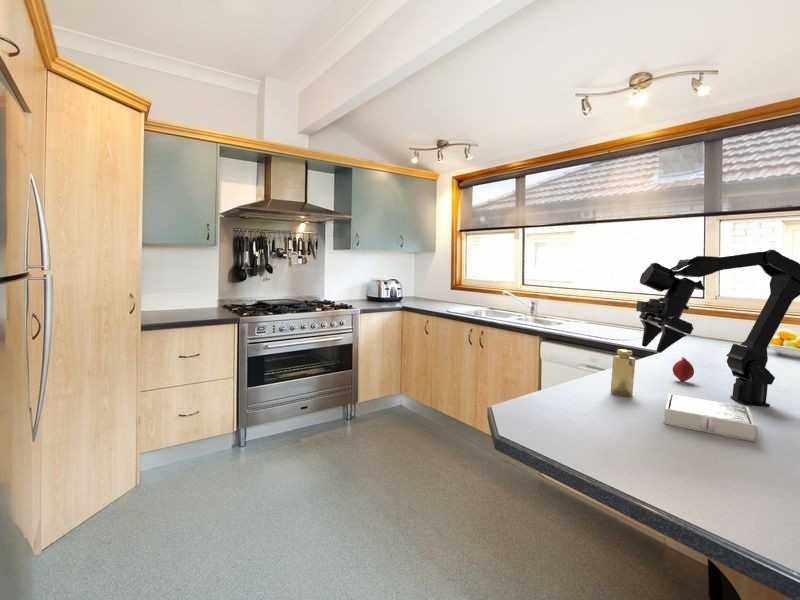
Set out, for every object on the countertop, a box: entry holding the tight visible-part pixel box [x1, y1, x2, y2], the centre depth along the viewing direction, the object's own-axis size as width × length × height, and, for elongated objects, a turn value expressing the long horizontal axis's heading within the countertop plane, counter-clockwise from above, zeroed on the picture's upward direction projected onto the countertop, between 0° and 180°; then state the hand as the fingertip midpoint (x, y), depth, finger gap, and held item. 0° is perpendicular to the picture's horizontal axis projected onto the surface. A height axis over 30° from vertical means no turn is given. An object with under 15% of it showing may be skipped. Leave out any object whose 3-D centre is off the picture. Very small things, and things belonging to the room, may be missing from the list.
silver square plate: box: [670, 394, 749, 424], centre depth 100 cm, size 14×14×1 cm
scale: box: [663, 393, 756, 442], centre depth 100 cm, size 16×16×4 cm
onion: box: [672, 356, 695, 383], centre depth 139 cm, size 6×6×8 cm
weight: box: [610, 348, 636, 398], centre depth 121 cm, size 6×6×12 cm
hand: (650, 349), depth 121 cm, fingers open, 9 cm apart
